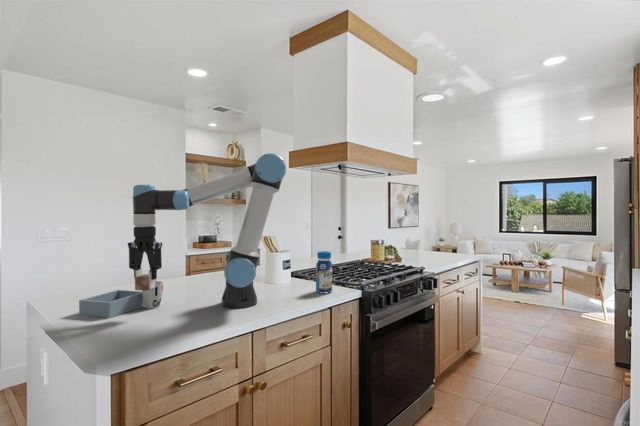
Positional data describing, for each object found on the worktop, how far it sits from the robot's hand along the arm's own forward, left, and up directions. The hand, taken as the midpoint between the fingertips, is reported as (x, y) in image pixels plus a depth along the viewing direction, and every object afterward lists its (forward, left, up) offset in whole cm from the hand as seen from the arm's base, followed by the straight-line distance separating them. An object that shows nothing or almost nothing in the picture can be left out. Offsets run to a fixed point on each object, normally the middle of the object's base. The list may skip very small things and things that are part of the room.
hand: (145, 287), depth 137 cm
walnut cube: (0, 0, 0) cm, 0 cm away
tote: (+19, -5, -11) cm, 22 cm away
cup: (+7, -13, -11) cm, 19 cm away
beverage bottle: (-55, -60, -11) cm, 82 cm away
